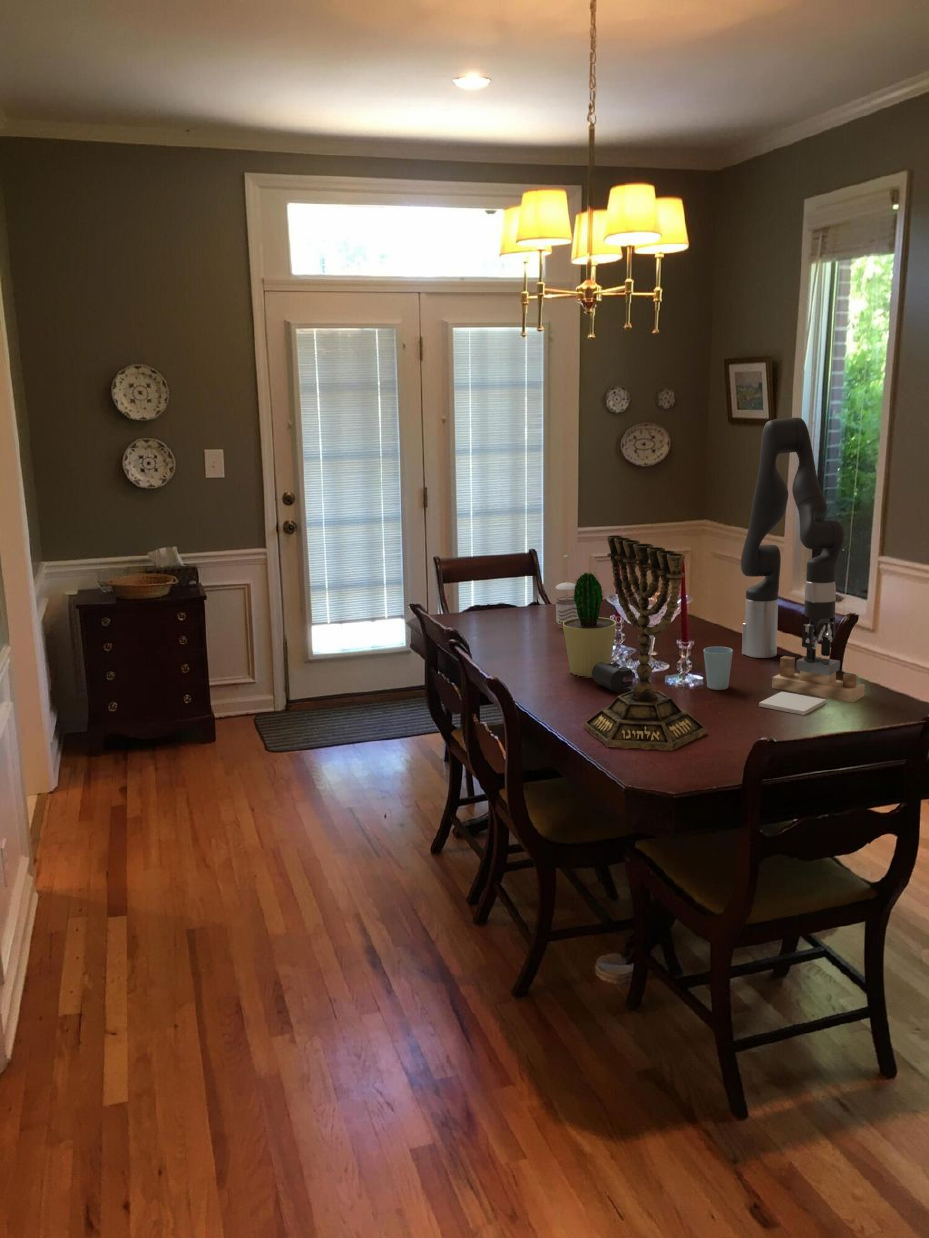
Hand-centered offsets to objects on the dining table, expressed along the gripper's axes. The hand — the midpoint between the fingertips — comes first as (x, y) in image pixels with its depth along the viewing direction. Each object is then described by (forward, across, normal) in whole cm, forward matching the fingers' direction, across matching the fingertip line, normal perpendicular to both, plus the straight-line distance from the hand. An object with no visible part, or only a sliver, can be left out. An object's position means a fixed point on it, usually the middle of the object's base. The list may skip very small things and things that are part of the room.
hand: (818, 659), depth 262 cm
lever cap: (+3, 0, 0) cm, 3 cm away
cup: (+9, +11, -23) cm, 27 cm away
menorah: (+10, +53, -18) cm, 57 cm away
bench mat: (+9, +14, 0) cm, 16 cm away
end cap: (+9, +29, -45) cm, 54 cm away
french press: (+8, -25, -102) cm, 106 cm away
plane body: (+9, 0, 0) cm, 9 cm away
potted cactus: (+9, +19, -60) cm, 64 cm away
